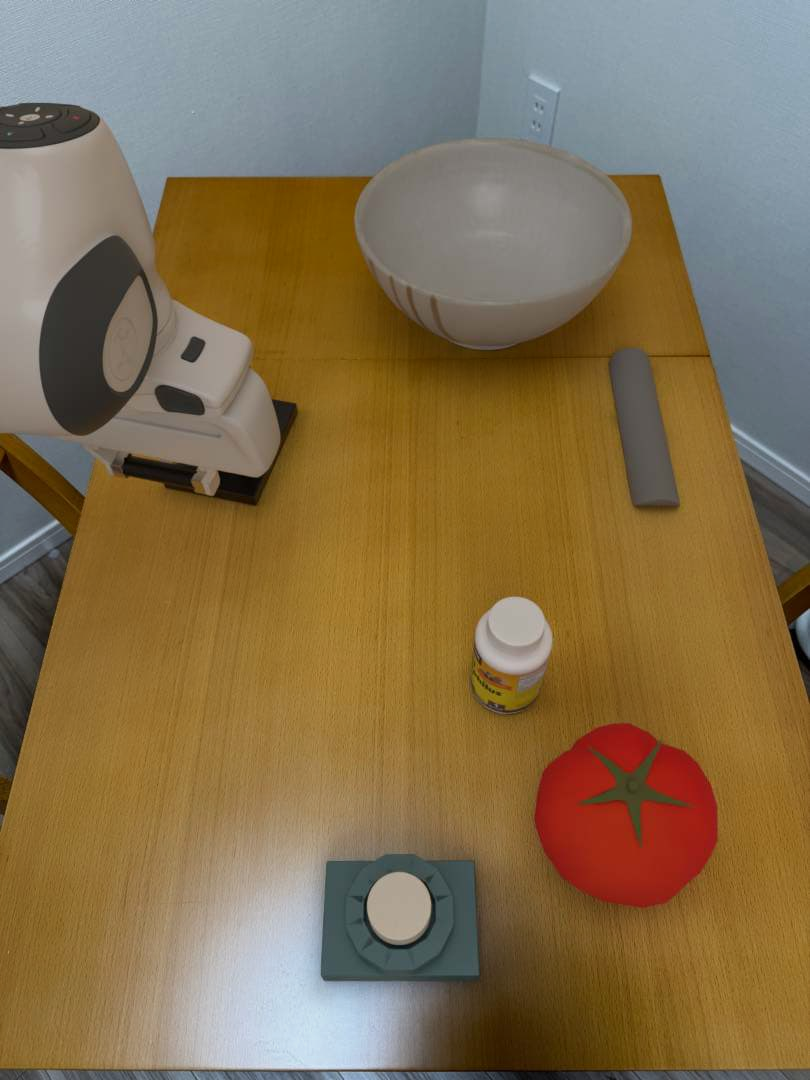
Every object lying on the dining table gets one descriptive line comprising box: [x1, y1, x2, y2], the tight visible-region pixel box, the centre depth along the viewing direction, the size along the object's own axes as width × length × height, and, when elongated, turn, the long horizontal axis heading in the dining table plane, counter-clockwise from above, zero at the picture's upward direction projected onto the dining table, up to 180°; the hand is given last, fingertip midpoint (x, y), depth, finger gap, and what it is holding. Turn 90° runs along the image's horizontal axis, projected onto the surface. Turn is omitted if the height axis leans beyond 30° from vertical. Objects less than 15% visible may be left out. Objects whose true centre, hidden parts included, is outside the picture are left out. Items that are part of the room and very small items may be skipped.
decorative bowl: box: [353, 137, 633, 351], centre depth 88 cm, size 27×27×12 cm
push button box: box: [320, 853, 481, 982], centre depth 56 cm, size 10×7×4 cm
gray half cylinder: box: [608, 347, 681, 507], centre depth 82 cm, size 4×20×2 cm, turn 179°
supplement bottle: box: [469, 596, 553, 715], centre depth 63 cm, size 6×6×10 cm
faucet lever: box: [125, 455, 197, 489], centre depth 71 cm, size 13×6×2 cm, turn 166°
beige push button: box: [367, 872, 431, 945], centre depth 54 cm, size 4×4×2 cm
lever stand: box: [163, 365, 298, 506], centre depth 77 cm, size 12×9×13 cm
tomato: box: [533, 722, 719, 909], centre depth 56 cm, size 12×12×10 cm
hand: (166, 479), depth 69 cm, fingers closed on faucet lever, 6 cm apart
